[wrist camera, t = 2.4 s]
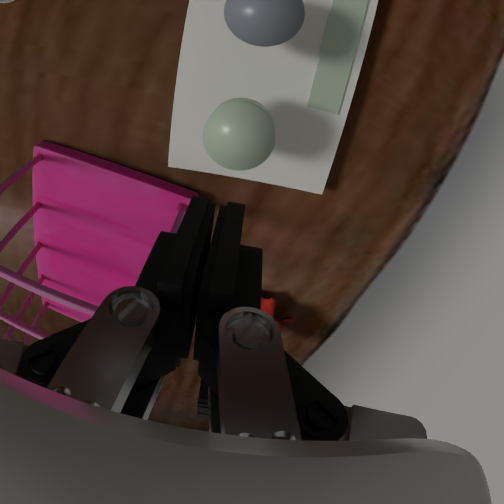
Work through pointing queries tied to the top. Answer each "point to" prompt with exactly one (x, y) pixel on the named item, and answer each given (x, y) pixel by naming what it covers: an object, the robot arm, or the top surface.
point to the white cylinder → (6, 1)
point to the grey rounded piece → (264, 20)
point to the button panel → (272, 88)
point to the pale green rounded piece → (239, 134)
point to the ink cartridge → (203, 400)
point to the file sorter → (87, 230)
